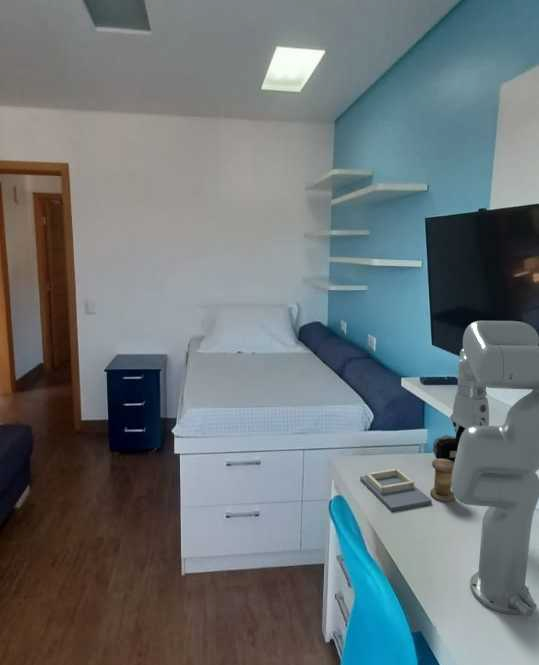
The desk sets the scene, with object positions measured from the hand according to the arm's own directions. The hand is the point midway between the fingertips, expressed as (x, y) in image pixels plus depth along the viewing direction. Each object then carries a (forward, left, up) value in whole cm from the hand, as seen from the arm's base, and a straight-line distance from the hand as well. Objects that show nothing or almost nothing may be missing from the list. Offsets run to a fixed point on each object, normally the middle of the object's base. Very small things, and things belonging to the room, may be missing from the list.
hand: (467, 448), depth 137 cm
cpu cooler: (+26, -15, -20) cm, 36 cm away
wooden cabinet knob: (+8, +1, -19) cm, 21 cm away
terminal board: (+15, +14, -19) cm, 29 cm away
